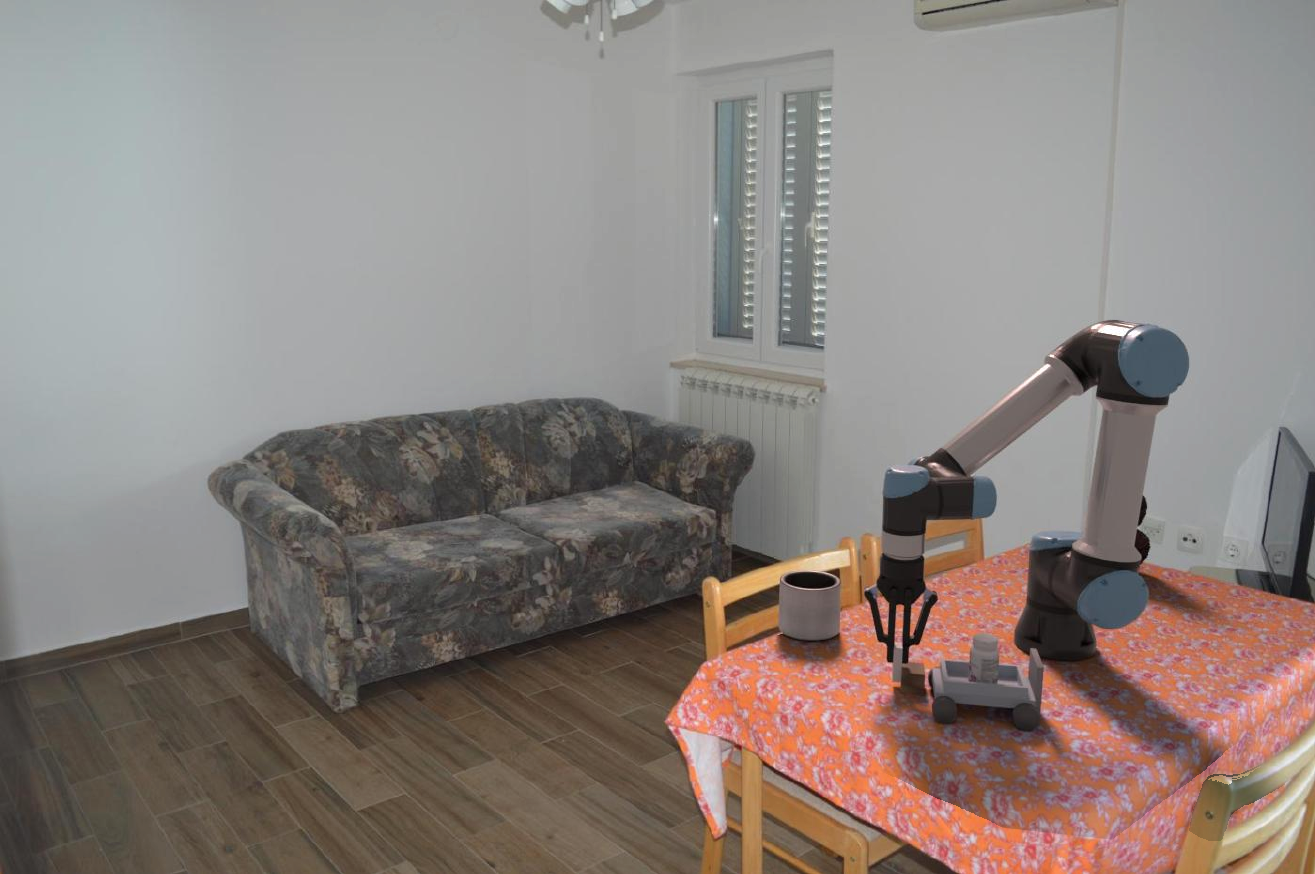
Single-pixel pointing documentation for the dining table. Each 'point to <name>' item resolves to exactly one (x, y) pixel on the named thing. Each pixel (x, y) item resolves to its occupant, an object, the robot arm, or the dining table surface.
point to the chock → (913, 678)
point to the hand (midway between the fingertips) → (896, 678)
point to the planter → (809, 605)
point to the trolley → (989, 690)
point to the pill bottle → (984, 659)
